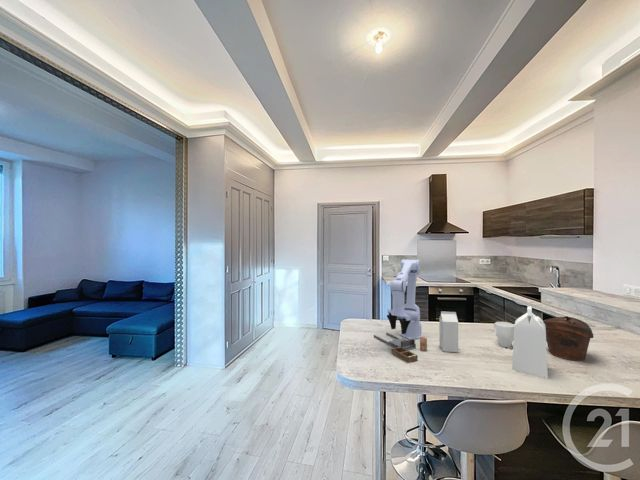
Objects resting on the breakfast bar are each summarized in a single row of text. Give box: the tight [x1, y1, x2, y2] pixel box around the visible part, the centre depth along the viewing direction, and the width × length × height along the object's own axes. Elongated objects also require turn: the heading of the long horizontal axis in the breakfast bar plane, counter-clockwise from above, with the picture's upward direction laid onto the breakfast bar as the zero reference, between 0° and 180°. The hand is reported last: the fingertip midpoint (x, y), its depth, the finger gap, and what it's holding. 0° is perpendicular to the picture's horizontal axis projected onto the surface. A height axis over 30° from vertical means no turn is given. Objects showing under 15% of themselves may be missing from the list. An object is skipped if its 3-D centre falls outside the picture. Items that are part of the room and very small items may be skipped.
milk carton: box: [438, 311, 459, 354], centre depth 135 cm, size 7×7×19 cm
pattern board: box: [373, 332, 417, 351], centre depth 144 cm, size 10×22×1 cm, turn 26°
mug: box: [492, 321, 515, 348], centre depth 141 cm, size 12×8×11 cm
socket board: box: [390, 347, 419, 364], centre depth 126 cm, size 6×11×2 cm, turn 26°
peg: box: [419, 336, 428, 352], centre depth 134 cm, size 3×3×6 cm
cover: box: [388, 337, 417, 348], centre depth 139 cm, size 10×9×3 cm
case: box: [542, 316, 595, 362], centre depth 128 cm, size 18×20×18 cm
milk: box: [511, 305, 549, 379], centre depth 115 cm, size 12×12×26 cm
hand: (398, 331), depth 134 cm, fingers open, 7 cm apart
